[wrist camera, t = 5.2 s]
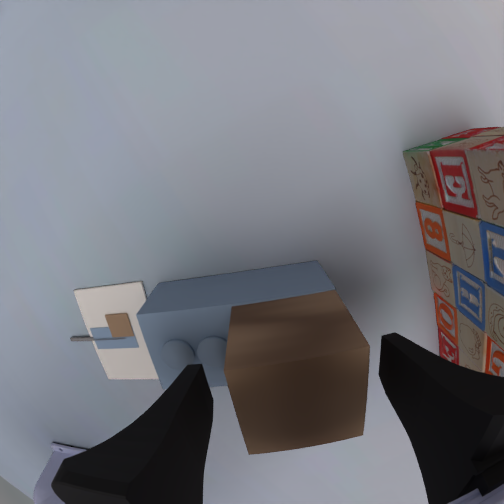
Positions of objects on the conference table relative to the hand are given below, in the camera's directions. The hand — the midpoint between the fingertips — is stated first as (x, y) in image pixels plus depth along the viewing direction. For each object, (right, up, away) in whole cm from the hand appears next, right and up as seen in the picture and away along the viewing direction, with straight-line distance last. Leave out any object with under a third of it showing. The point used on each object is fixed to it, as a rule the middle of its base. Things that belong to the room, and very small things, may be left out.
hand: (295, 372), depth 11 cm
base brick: (-2, +1, +6) cm, 7 cm away
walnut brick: (0, +1, +2) cm, 2 cm away
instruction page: (-10, -1, +7) cm, 12 cm away
